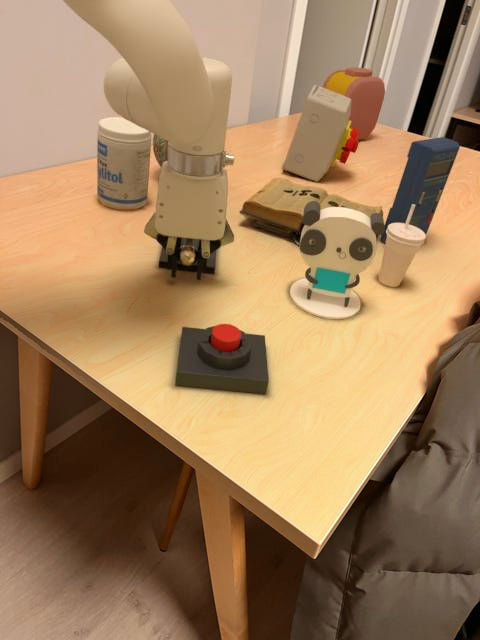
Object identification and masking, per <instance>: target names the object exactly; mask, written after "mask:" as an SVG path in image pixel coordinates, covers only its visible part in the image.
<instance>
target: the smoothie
mask: <svg viewBox="0 0 480 640" xmlns="http://www.w3.org/2000/svg"><path fill="white" fill-rule="evenodd" d="M414 208H415V205H414V204H412V206H411V209H410V212H409V214H408V217H407V220H406V223H392V224H389V225H388V228H387V230H386V233H387V238H386V243H384V247H383V248H384V249H383V252H382V253H383V254H382V259H381V263H380V269H379V274H378V281H379V282H380V283H381V284H382V285H384V286H386V287H390V288H396V287H399V286H400V284H401V283H402V281H403V279H404V277H405V275H406V274H407V271H408V269H409V268H410V267H411V264H412V262H413V260H414V258H415V257H416V255H417V253H418V252H419V249H420V247H421V245H423V244H425V242H426V238H427V234H425V233H424V232H423V231H422V230H421V229H419V228H417V227H415V226H412V225H409V222H410V219H411V216H412V214H413V211H414Z"/></svg>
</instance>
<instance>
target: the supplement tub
mask: <svg viewBox="0 0 480 640" xmlns="http://www.w3.org/2000/svg"><path fill="white" fill-rule="evenodd" d="M96 143H97V145H96V147H97V148H96V149H97V150H96V151H97V154H96V155H97V158H96V160H97V161H96V162H97V163H96V164H97V165H96V166H97V167H96V170H97V171H96V174H97V175H96V185H97V186H96V187H97V188H96V191H97V192H96V196H97V199H98V201H99V202H100V203H101V205H102V204H103V205H104V206H106V207H108V208H111V209H115V210H123V211H133V210H137V209H140V208H142V207H144V206H145V205H146V204H147V202H148V196H149V181H150V168H151V167H150V166H151V152H152V151H151V150H152V132H150V131H148V130H146V129H144V128H141V127H139V126H137V125H136V124H134V123H132V122H130V121H128V120H126V119H124V118H123V117H121V116H113V117H111V116H110V117H105V118H101V119H100V120H99V121H98V128H97V142H96Z"/></svg>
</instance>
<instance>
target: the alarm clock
mask: <svg viewBox="0 0 480 640" xmlns="http://www.w3.org/2000/svg"><path fill="white" fill-rule="evenodd" d="M373 73H374V71H373V70H372V69H370V68H366V67H347V68H345V69H338V70H334V71H333V72H331V73H330V74H329V75H328V76H327V77H326V79H325V81H324V82H323V85H322V87H323V88H325V89H328V90H330V91H333V92H336V93H338V94H341V95H343V96H346V97H348V98H350V99H351V115H350V118H349V120H350V121H351V124H350V127H349V128H350V129H353V128H355V129H357V130H359V132H358V135H357V137H356V140H357V141H363V140H364V139H366V138H368V137H369V136H370V135H371V134H372V133H373V131H374V130H375V128H376V126H377V123H378V120H379V117H380V114H381V111H382V107H383V103H384V100H385V96H386V87H385V82H384V80H383V79H382V78H381V77H379V76H373Z"/></svg>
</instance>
